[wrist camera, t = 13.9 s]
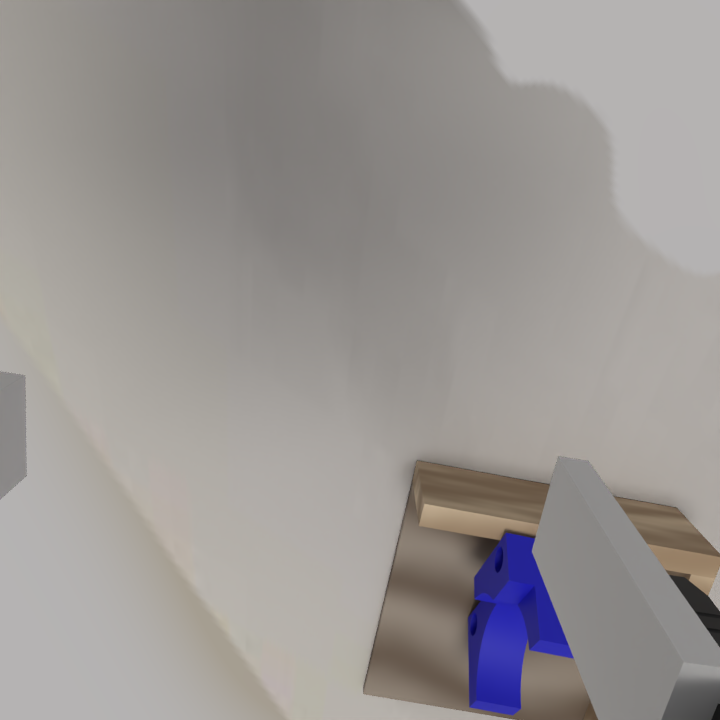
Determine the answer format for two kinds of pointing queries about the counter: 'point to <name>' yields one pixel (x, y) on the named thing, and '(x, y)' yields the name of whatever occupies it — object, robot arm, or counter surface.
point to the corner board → (456, 600)
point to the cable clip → (509, 625)
